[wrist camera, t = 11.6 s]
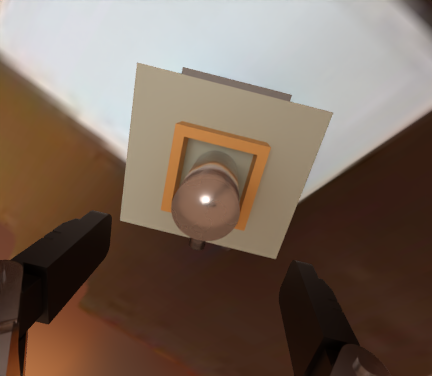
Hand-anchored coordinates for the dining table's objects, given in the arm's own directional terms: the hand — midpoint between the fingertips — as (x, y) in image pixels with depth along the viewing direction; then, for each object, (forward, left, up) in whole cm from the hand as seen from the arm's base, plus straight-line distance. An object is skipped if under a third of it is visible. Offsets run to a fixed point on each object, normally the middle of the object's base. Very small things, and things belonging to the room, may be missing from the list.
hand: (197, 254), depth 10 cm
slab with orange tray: (0, +1, -24) cm, 24 cm away
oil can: (0, +2, -17) cm, 17 cm away
